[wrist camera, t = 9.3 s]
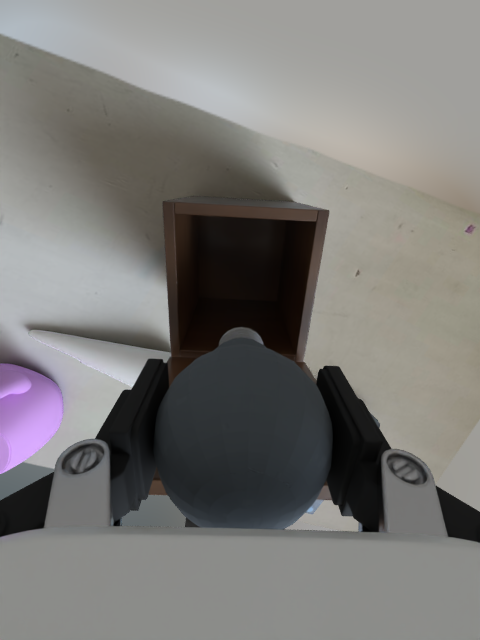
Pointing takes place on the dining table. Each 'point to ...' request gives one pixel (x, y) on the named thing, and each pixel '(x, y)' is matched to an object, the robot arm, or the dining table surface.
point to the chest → (241, 271)
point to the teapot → (26, 413)
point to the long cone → (102, 354)
